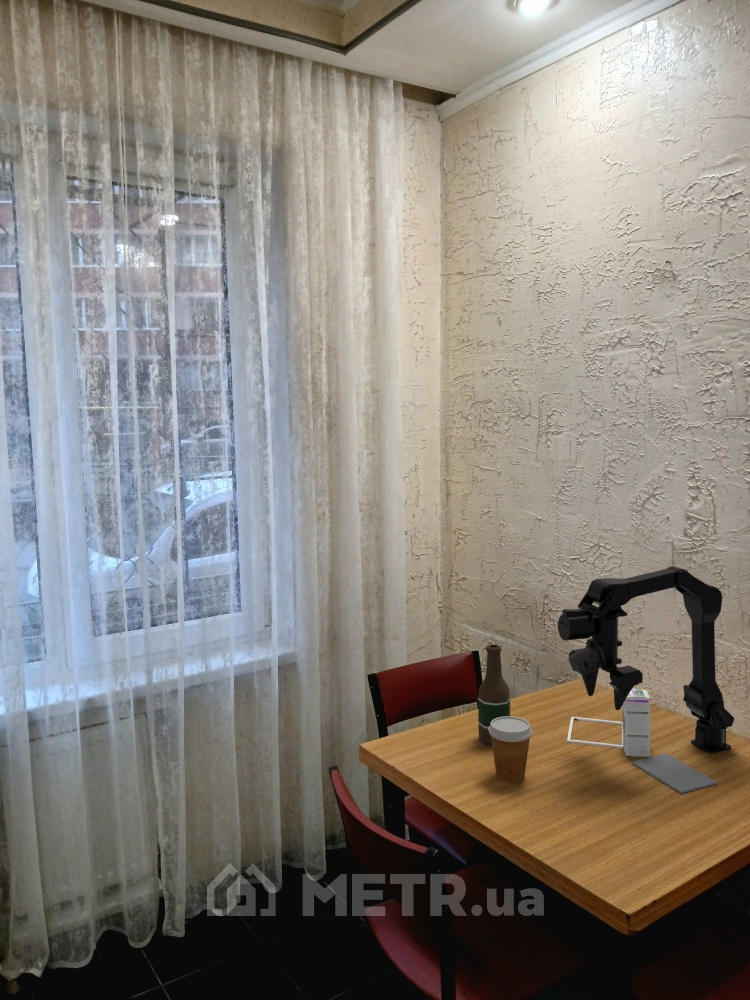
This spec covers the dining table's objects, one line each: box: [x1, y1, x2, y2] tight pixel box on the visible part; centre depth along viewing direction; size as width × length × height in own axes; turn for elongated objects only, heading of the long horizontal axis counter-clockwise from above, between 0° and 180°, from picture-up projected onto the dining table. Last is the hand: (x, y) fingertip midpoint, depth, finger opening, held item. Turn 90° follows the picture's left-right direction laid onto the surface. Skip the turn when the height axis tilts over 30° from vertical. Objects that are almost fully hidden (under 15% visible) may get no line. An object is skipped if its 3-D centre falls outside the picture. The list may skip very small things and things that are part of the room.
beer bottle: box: [477, 644, 511, 747], centre depth 184 cm, size 8×8×24 cm
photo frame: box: [566, 716, 624, 750], centre depth 187 cm, size 15×1×18 cm
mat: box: [631, 752, 718, 795], centre depth 166 cm, size 10×15×1 cm, turn 22°
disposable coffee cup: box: [489, 715, 533, 783], centre depth 166 cm, size 10×10×12 cm
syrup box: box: [622, 687, 651, 758], centre depth 177 cm, size 6×6×14 cm
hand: (603, 702), depth 171 cm, fingers open, 9 cm apart
